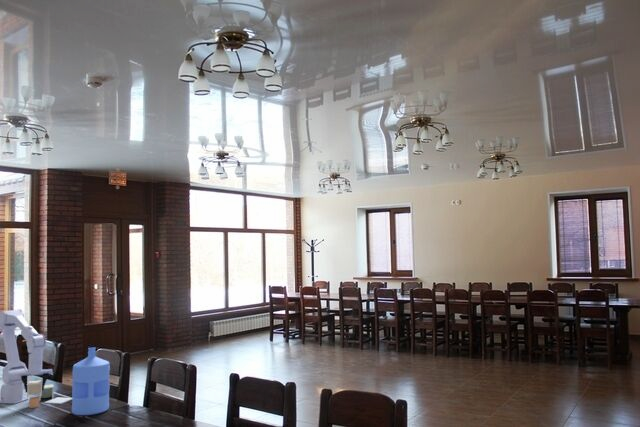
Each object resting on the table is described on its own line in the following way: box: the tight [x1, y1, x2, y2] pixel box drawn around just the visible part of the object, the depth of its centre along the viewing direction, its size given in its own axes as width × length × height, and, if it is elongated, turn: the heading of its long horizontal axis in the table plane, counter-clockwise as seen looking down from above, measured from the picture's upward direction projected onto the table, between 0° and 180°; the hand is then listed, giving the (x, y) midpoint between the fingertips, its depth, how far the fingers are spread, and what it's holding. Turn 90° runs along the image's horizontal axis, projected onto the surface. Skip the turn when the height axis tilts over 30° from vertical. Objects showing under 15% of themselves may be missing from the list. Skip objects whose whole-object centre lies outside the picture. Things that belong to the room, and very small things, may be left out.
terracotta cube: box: [28, 396, 40, 409], centre depth 246 cm, size 4×4×4 cm
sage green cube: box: [38, 383, 55, 402], centre depth 260 cm, size 6×6×6 cm
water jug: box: [70, 346, 111, 416], centre depth 239 cm, size 16×16×28 cm
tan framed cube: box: [26, 379, 42, 399], centre depth 247 cm, size 6×6×6 cm
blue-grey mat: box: [44, 396, 72, 405], centre depth 255 cm, size 9×9×1 cm
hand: (34, 391), depth 247 cm, fingers closed on tan framed cube, 6 cm apart
